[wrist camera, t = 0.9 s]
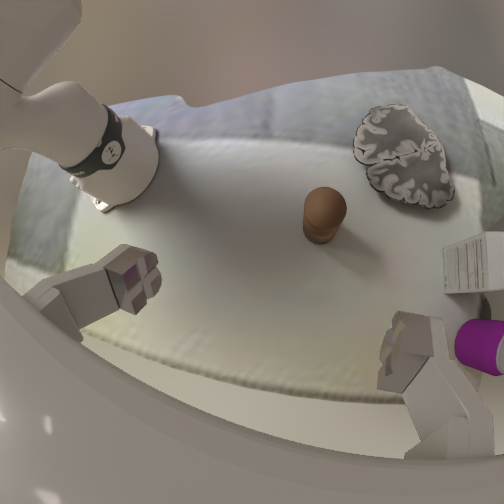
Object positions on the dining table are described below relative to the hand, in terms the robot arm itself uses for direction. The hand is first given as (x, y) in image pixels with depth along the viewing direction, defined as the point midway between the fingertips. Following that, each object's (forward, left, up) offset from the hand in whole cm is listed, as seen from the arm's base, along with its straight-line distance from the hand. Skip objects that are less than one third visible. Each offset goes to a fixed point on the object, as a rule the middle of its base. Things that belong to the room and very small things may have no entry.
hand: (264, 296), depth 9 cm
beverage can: (+31, +7, -31) cm, 45 cm away
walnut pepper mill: (-1, +10, -31) cm, 33 cm away
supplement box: (+23, +16, -31) cm, 42 cm away
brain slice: (+6, +27, -32) cm, 42 cm away
